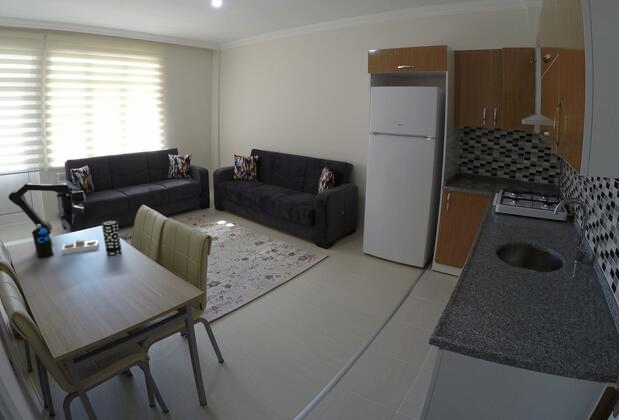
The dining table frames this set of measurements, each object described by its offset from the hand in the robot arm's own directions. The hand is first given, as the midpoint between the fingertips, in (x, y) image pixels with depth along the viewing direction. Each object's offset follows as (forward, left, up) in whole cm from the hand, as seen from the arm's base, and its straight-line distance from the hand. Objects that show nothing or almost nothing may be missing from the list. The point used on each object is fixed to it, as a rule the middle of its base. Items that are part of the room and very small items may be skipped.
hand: (71, 225), depth 234 cm
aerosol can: (-13, -17, -12) cm, 25 cm away
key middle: (+5, -14, -9) cm, 17 cm away
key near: (-1, -14, -11) cm, 17 cm away
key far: (+11, -14, -11) cm, 21 cm away
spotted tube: (+24, -30, -12) cm, 40 cm away
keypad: (+5, -14, -12) cm, 19 cm away
